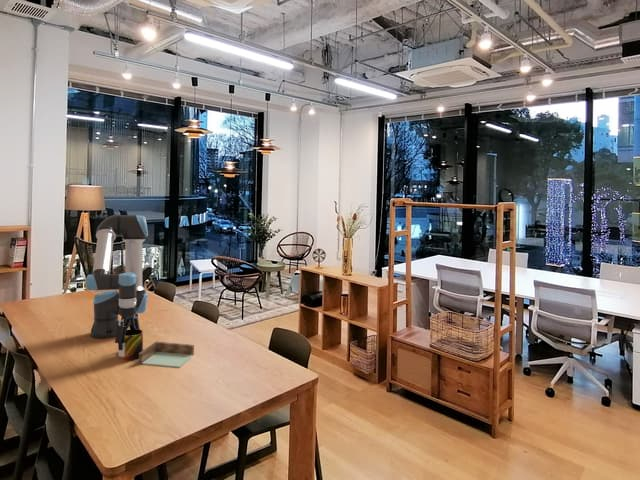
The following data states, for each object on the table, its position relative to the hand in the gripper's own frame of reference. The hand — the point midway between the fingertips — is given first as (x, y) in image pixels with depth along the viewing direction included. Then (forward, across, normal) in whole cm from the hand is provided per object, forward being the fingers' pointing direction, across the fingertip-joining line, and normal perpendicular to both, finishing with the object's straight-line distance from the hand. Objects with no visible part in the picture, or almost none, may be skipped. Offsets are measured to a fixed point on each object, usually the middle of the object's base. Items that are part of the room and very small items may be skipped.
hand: (128, 352), depth 200 cm
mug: (+2, 0, 0) cm, 2 cm away
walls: (+2, +1, -19) cm, 19 cm away
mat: (+2, 0, -20) cm, 20 cm away
